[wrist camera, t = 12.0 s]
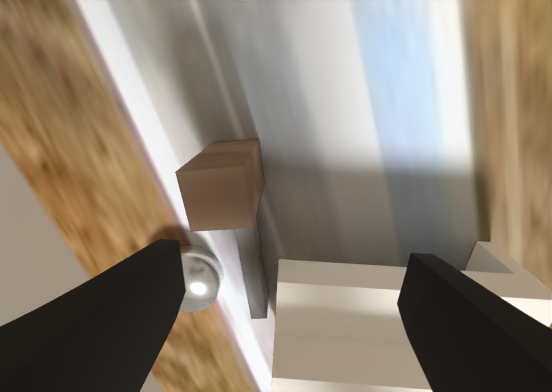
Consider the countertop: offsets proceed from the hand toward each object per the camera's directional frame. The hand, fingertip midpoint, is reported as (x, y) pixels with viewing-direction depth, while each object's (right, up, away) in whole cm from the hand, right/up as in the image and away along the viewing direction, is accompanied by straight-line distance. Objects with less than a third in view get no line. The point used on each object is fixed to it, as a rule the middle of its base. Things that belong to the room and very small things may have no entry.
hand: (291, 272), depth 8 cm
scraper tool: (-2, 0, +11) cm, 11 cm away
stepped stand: (+7, -4, +12) cm, 14 cm away
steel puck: (-7, -4, +13) cm, 15 cm away
